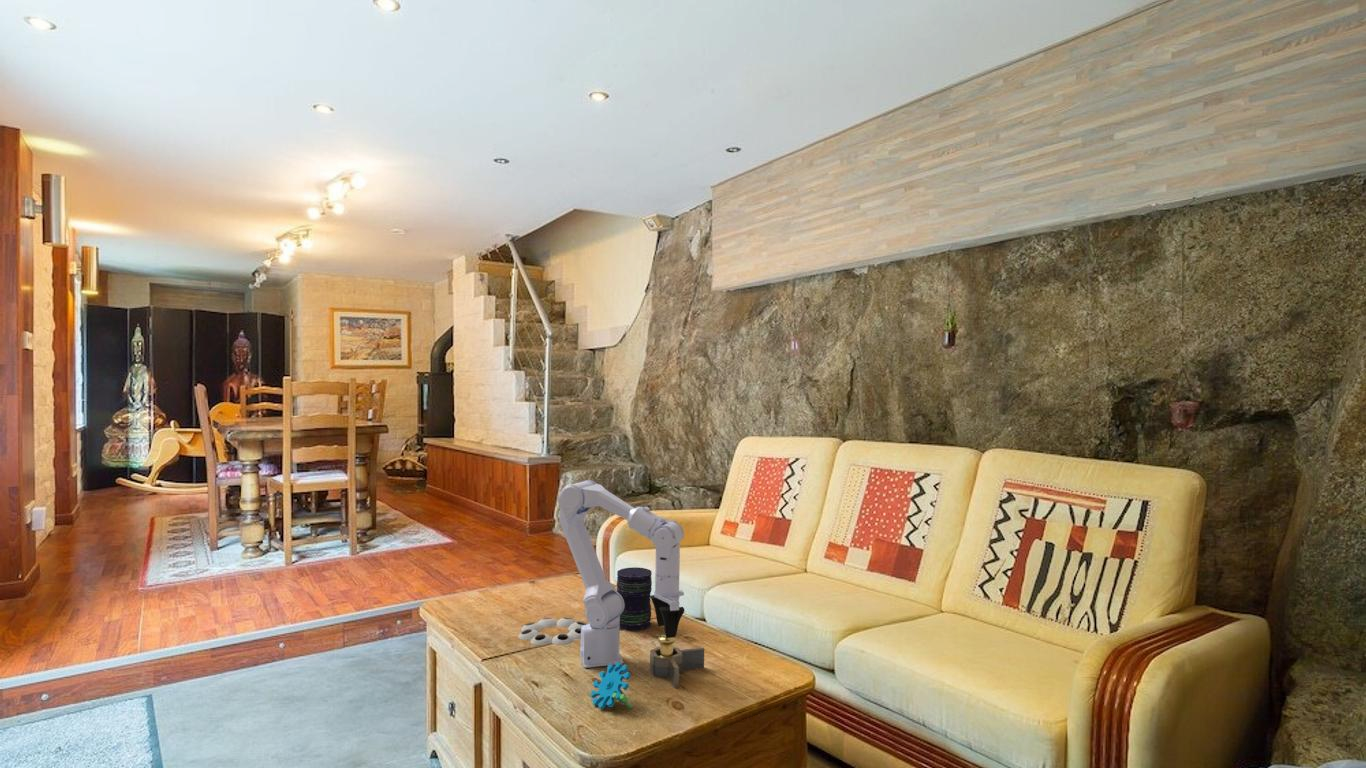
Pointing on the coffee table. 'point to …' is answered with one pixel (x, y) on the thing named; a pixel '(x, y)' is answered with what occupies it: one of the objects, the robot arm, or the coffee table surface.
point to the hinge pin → (666, 645)
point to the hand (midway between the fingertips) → (666, 631)
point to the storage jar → (635, 598)
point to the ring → (547, 623)
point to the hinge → (675, 663)
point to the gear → (611, 686)
